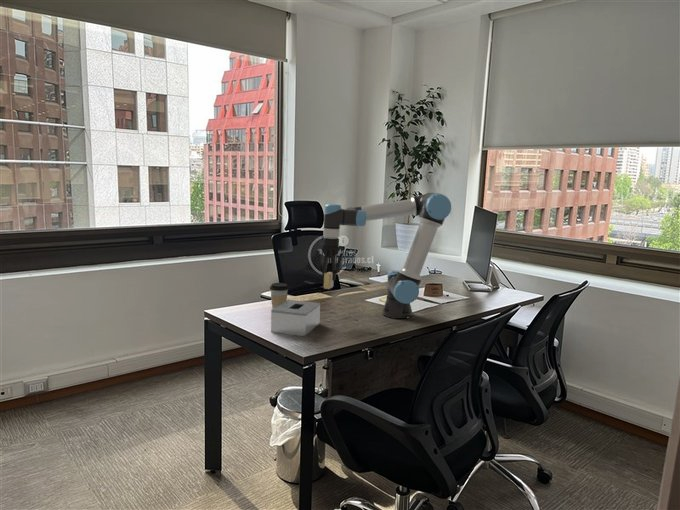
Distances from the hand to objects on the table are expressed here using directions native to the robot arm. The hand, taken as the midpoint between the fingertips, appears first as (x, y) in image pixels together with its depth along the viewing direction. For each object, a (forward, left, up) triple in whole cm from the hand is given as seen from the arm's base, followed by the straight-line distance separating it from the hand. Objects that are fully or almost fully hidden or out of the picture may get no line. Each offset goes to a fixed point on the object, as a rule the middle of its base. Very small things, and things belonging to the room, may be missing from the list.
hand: (328, 286), depth 234 cm
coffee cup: (+26, -3, -17) cm, 32 cm away
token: (0, 0, -1) cm, 1 cm away
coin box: (+10, +15, -17) cm, 25 cm away
